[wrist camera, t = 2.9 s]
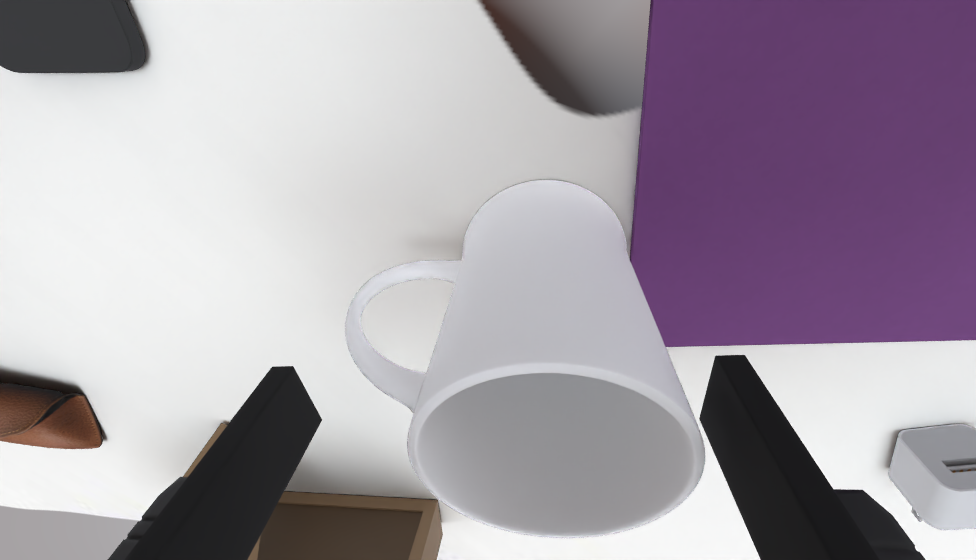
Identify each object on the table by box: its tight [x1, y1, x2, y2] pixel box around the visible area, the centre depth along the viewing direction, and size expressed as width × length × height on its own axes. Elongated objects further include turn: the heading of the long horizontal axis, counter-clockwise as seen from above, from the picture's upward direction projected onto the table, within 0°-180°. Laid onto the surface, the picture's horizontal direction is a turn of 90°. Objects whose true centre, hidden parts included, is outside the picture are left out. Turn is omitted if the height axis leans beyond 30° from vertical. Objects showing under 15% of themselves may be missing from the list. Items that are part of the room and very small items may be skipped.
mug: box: [345, 180, 705, 538], centre depth 16 cm, size 12×8×12 cm
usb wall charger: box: [888, 424, 976, 530], centre depth 25 cm, size 4×7×4 cm, turn 20°
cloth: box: [630, 0, 976, 347], centre depth 16 cm, size 20×20×1 cm
